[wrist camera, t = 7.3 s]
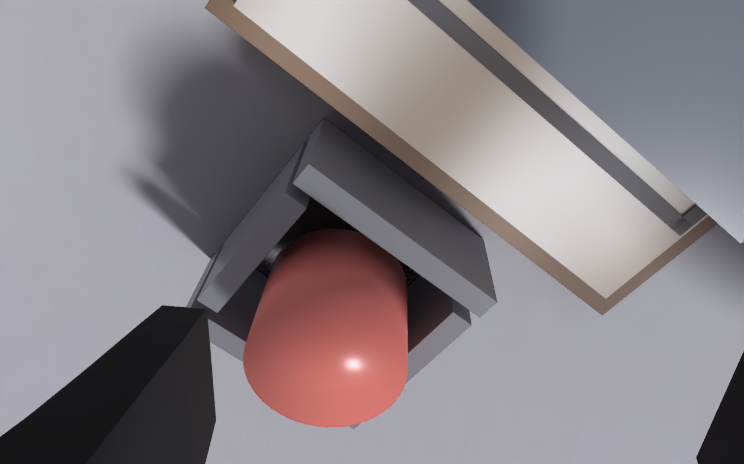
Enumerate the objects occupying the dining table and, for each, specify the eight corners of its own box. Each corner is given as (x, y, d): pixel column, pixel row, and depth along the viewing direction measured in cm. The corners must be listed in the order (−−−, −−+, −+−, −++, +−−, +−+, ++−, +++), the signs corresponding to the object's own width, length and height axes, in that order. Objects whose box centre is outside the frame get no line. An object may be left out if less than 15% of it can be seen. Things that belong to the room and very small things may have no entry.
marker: (823, 111, 14) (923, 167, 12) (706, 207, 16) (771, 279, 13) (443, -286, 11) (458, -338, 9) (336, -124, 13) (317, -123, 10)
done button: (436, 283, 16) (442, 360, 14) (350, 365, 18) (340, 450, 15) (323, 201, 15) (306, 269, 13) (241, 295, 17) (211, 373, 14)
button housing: (483, 240, 18) (497, 302, 15) (360, 357, 20) (354, 428, 18) (324, 117, 16) (308, 163, 14) (210, 259, 19) (178, 322, 16)
